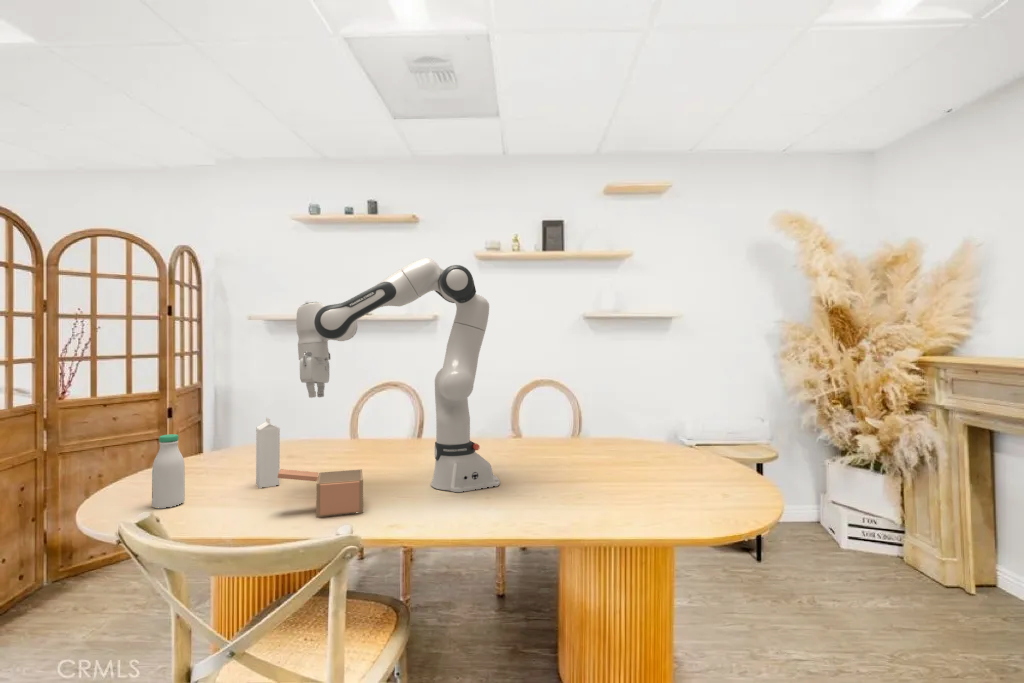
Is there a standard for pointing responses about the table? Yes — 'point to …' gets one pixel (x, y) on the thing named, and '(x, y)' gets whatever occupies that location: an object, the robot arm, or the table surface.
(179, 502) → the milk bottle
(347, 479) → the carton
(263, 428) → the milk
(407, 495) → the table surface
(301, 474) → the flap
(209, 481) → the table surface
